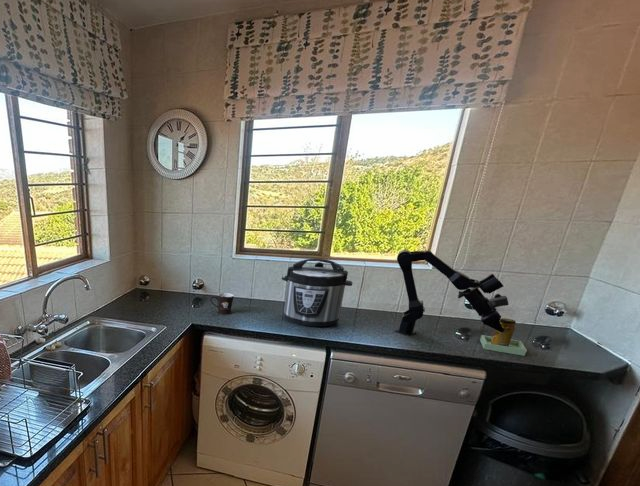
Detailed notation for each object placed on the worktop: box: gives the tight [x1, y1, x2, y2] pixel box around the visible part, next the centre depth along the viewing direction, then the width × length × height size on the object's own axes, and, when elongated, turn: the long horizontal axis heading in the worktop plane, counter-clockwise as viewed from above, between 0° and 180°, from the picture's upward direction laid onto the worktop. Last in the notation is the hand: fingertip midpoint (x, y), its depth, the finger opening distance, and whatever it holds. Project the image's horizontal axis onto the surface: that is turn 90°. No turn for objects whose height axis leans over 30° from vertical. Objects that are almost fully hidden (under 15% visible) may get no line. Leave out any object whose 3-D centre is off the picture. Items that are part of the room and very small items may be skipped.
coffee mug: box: [209, 292, 235, 315], centre depth 219 cm, size 12×9×10 cm
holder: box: [479, 334, 528, 357], centre depth 174 cm, size 14×13×3 cm
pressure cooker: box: [281, 258, 353, 328], centre depth 203 cm, size 30×28×32 cm
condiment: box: [487, 317, 517, 348], centre depth 173 cm, size 7×8×12 cm
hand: (500, 328), depth 173 cm, fingers open, 9 cm apart
